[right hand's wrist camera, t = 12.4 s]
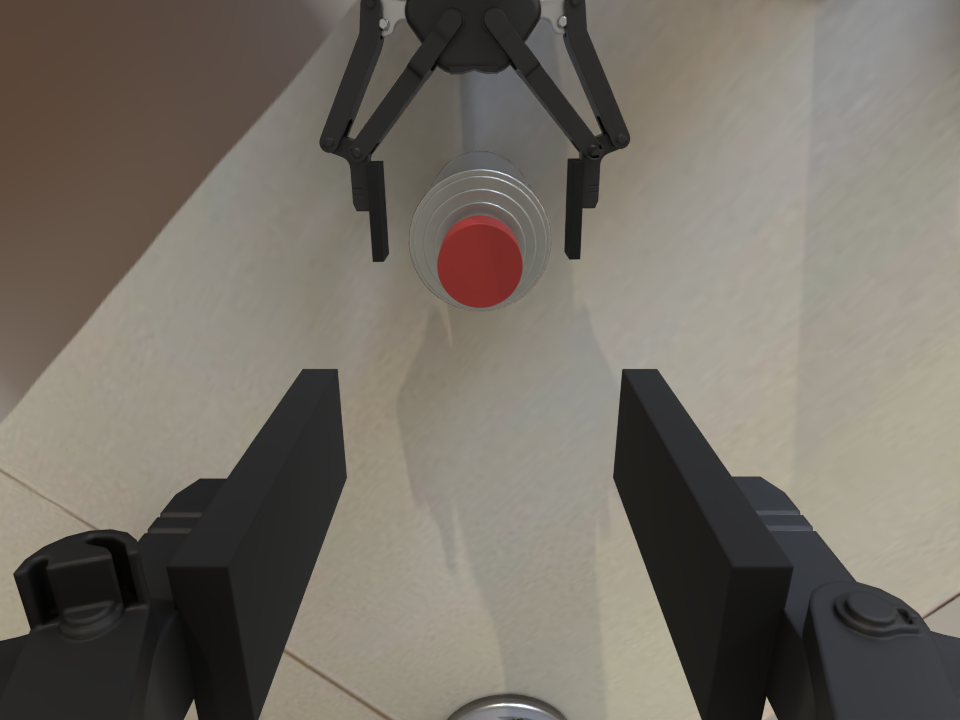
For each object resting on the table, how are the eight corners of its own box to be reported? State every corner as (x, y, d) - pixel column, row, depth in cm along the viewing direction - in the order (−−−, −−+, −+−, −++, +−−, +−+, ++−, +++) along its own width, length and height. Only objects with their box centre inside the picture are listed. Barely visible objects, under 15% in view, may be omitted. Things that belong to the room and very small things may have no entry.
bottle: (515, 139, 49) (542, 158, 28) (538, 236, 52) (578, 321, 31) (419, 165, 50) (374, 204, 29) (446, 260, 52) (424, 359, 31)
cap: (508, 205, 31) (511, 213, 28) (527, 282, 32) (531, 296, 30) (430, 226, 31) (426, 236, 29) (452, 302, 33) (450, 317, 30)
